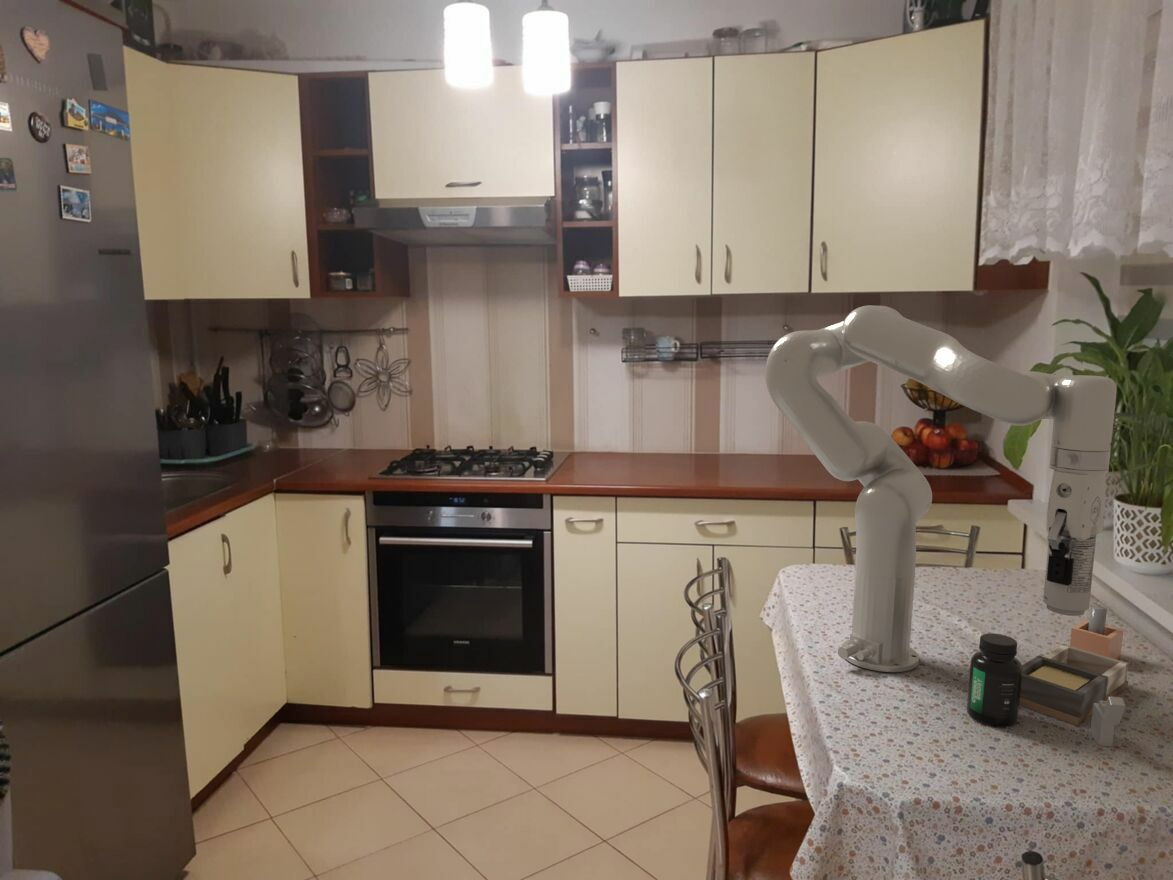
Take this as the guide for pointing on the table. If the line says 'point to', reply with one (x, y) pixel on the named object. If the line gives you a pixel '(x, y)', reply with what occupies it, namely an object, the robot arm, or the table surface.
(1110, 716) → the grey notched block
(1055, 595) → the energy drink can
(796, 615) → the table surface
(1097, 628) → the square terracotta planter
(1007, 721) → the supplement bottle
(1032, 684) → the wooden tray
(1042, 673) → the khaki flat square slab
